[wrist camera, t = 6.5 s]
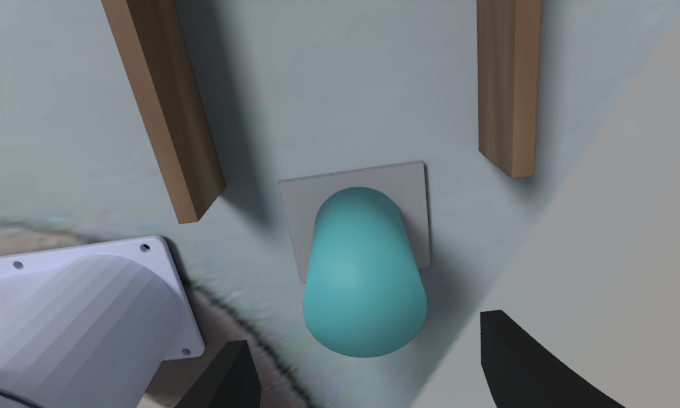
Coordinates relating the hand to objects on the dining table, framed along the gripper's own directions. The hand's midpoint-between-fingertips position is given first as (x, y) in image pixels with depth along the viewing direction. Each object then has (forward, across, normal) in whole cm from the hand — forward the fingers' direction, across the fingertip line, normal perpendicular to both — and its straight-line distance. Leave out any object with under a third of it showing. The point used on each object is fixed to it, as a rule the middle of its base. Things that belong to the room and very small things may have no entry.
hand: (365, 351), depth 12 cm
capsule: (+8, 0, 0) cm, 9 cm away
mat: (+9, 0, 0) cm, 9 cm away
